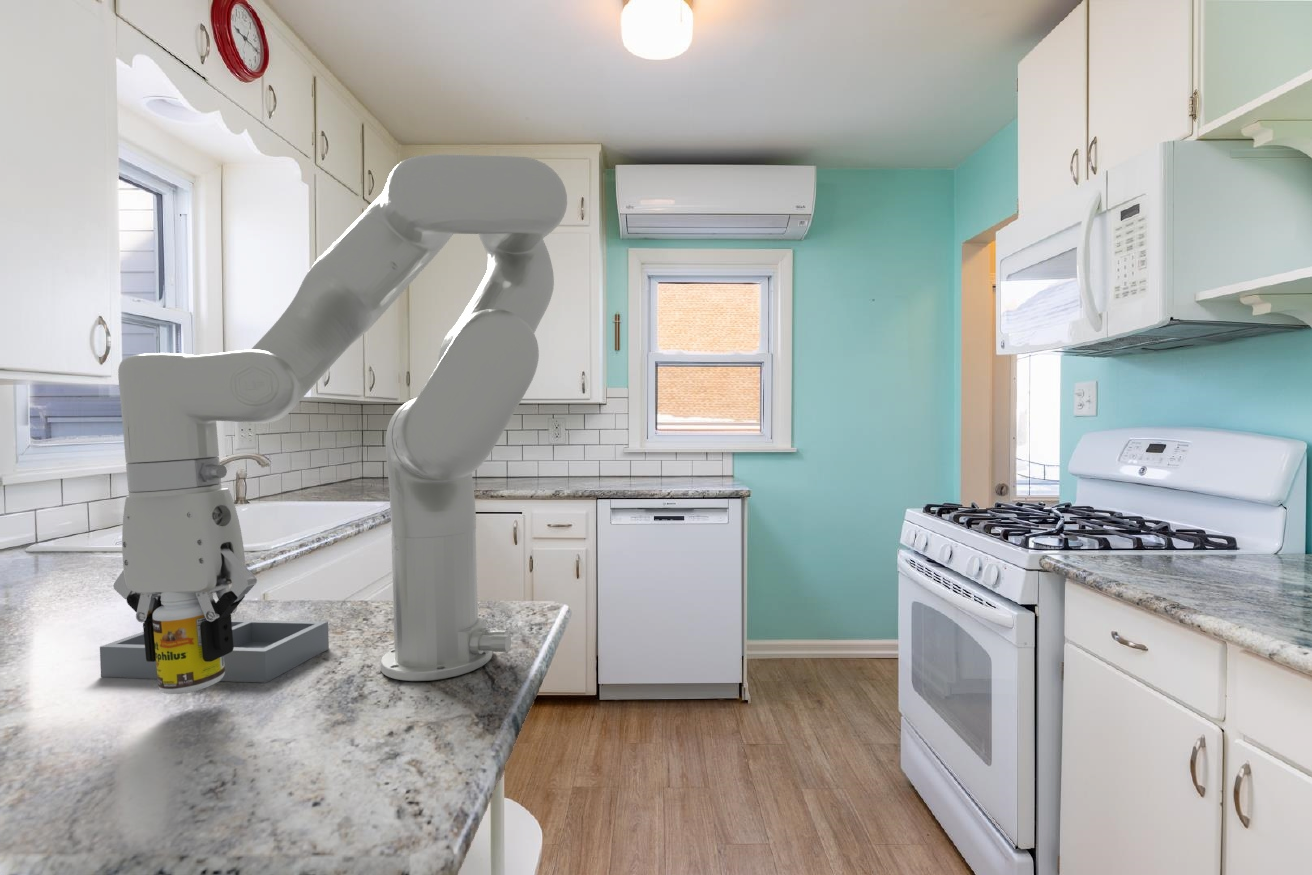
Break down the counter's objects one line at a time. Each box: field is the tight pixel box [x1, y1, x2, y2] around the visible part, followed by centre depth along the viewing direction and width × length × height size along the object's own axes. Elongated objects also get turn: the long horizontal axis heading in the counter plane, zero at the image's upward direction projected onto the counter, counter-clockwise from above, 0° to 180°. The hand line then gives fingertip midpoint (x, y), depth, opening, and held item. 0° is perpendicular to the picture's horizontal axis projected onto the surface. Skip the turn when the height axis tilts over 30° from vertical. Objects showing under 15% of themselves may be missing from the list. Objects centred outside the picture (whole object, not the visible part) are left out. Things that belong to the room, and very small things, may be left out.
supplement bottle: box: [153, 592, 225, 695], centre depth 66 cm, size 6×6×10 cm
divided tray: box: [99, 619, 330, 684], centre depth 79 cm, size 21×11×4 cm, turn 82°
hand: (190, 654), depth 66 cm, fingers closed on supplement bottle, 5 cm apart
